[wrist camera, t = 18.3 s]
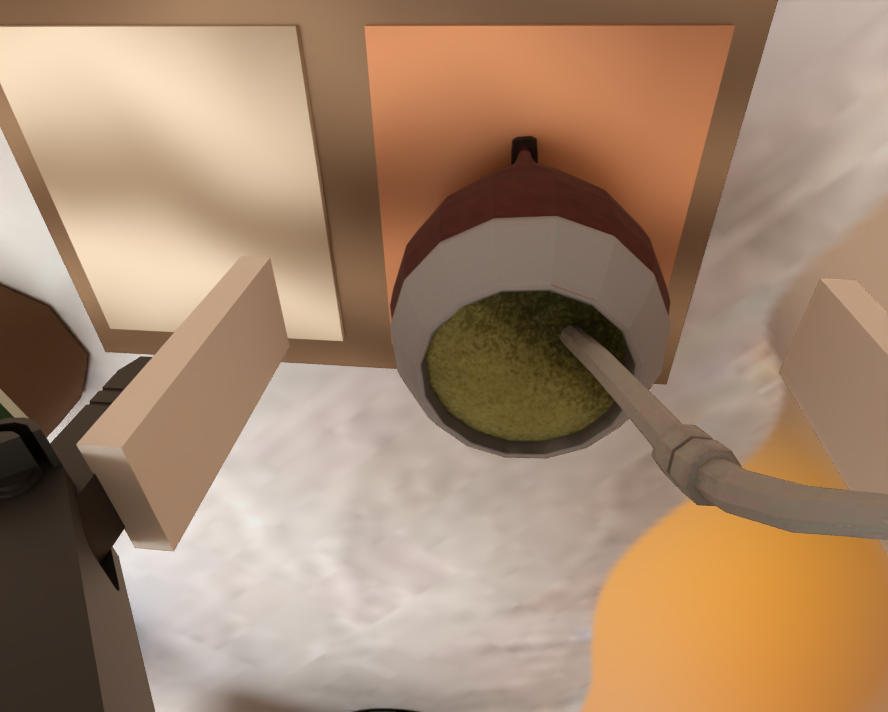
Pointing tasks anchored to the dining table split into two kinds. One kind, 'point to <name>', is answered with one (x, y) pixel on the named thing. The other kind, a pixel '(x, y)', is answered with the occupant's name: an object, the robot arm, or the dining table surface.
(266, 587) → the dining table surface
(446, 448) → the dining table surface
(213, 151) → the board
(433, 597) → the dining table surface
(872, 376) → the robot arm
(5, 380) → the beer bottle
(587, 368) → the mate gourd
